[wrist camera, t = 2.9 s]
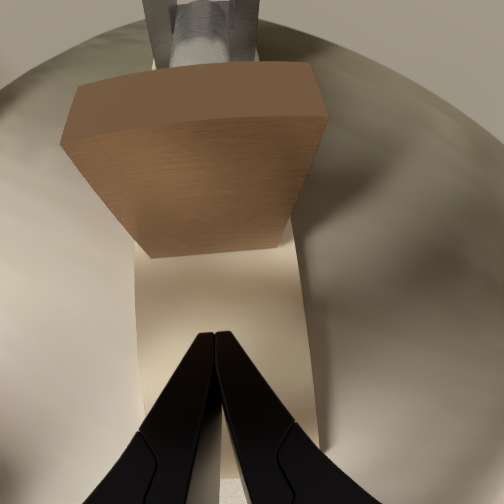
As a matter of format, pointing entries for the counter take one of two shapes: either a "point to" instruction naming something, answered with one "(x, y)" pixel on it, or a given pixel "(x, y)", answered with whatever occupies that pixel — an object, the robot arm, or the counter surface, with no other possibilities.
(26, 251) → the counter surface
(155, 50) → the bearing block
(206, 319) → the birch base plate
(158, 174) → the wooden block with shaft
